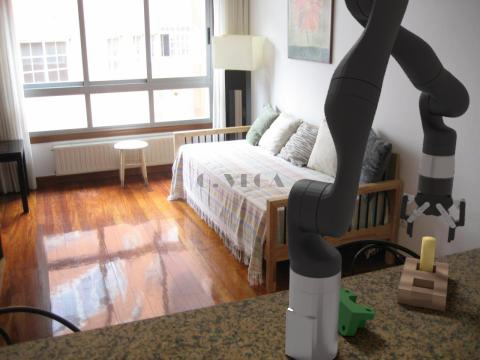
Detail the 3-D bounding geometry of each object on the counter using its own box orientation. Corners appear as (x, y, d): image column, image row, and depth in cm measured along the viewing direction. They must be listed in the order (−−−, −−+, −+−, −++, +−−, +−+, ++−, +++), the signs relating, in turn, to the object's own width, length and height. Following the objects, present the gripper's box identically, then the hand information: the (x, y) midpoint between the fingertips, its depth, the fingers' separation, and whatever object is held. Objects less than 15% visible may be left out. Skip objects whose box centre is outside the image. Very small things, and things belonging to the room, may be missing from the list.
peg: (428, 285, 124) (432, 242, 121) (416, 281, 126) (420, 239, 123) (433, 280, 126) (437, 238, 123) (421, 277, 128) (425, 235, 125)
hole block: (444, 311, 112) (446, 296, 111) (396, 302, 116) (398, 288, 115) (447, 276, 128) (448, 263, 127) (405, 270, 132) (406, 257, 131)
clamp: (360, 349, 106) (381, 321, 101) (335, 348, 104) (356, 319, 99) (340, 303, 116) (358, 275, 111) (316, 301, 113) (334, 273, 109)
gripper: (470, 172, 119) (462, 238, 123) (405, 166, 125) (400, 229, 129) (470, 179, 112) (462, 249, 117) (402, 173, 118) (396, 240, 122)
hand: (429, 238), depth 123 cm, fingers open, 8 cm apart
